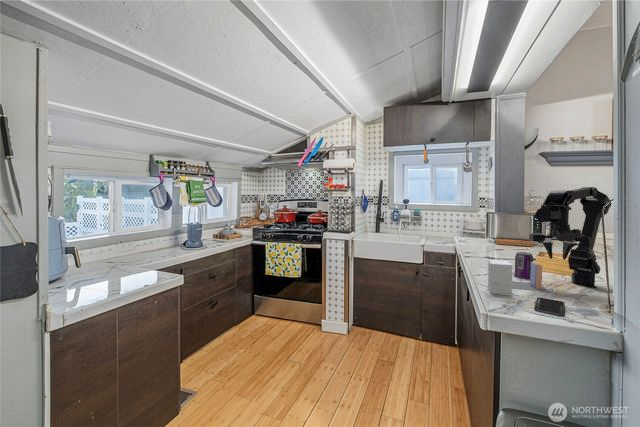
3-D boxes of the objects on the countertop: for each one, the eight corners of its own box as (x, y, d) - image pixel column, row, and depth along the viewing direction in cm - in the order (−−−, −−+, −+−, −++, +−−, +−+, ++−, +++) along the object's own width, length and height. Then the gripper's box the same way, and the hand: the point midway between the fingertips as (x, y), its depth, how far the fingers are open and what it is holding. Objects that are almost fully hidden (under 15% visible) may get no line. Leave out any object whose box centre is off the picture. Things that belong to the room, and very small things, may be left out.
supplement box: (508, 291, 115) (509, 261, 114) (511, 297, 108) (512, 265, 108) (487, 289, 118) (488, 259, 118) (489, 294, 112) (490, 263, 111)
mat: (538, 284, 124) (539, 283, 124) (550, 293, 112) (550, 292, 112) (501, 281, 128) (502, 280, 128) (509, 289, 117) (509, 288, 117)
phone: (534, 308, 95) (537, 296, 107) (533, 312, 95) (537, 299, 107) (564, 315, 90) (565, 301, 101) (564, 318, 90) (564, 304, 102)
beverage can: (535, 280, 130) (536, 255, 129) (518, 279, 131) (519, 254, 131) (527, 276, 137) (528, 252, 136) (511, 275, 138) (512, 251, 137)
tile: (536, 285, 121) (537, 262, 121) (541, 289, 116) (542, 265, 115) (529, 284, 122) (530, 261, 122) (535, 288, 117) (535, 264, 116)
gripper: (539, 222, 111) (537, 261, 112) (599, 223, 104) (597, 265, 105) (529, 220, 121) (527, 256, 122) (583, 221, 115) (582, 259, 115)
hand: (557, 259), depth 116 cm, fingers open, 4 cm apart
